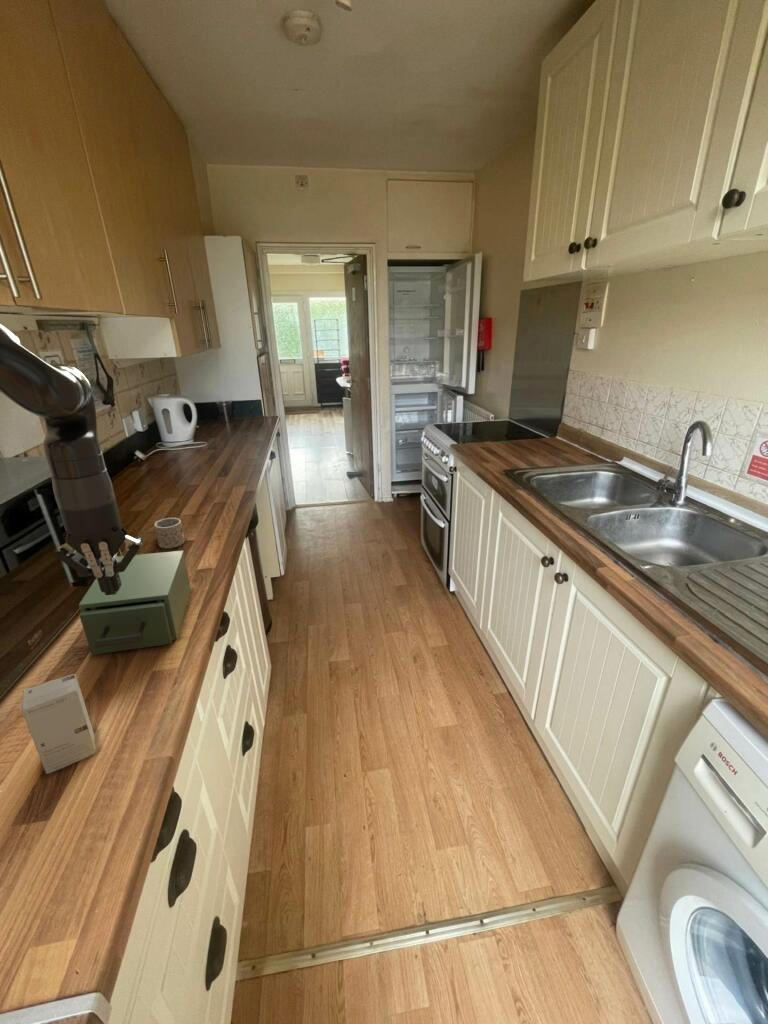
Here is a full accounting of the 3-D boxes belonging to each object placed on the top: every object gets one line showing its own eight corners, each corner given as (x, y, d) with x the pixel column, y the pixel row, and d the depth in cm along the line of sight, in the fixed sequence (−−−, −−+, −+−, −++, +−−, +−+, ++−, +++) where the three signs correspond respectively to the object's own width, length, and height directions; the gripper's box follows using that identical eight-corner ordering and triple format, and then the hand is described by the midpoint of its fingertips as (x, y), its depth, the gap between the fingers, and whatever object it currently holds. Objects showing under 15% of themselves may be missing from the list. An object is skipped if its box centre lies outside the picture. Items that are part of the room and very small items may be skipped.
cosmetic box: (46, 777, 59) (18, 713, 54) (46, 752, 62) (19, 690, 57) (98, 753, 62) (76, 691, 57) (96, 731, 65) (75, 671, 61)
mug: (189, 542, 122) (185, 521, 119) (167, 551, 117) (163, 530, 114) (169, 533, 127) (165, 513, 124) (147, 542, 122) (142, 520, 119)
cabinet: (177, 640, 85) (167, 594, 80) (93, 652, 81) (78, 605, 77) (191, 590, 100) (183, 550, 96) (121, 598, 97) (110, 557, 93)
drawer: (166, 661, 78) (156, 622, 74) (81, 674, 75) (67, 633, 71) (185, 595, 97) (178, 561, 93) (118, 603, 94) (109, 568, 90)
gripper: (139, 488, 72) (159, 576, 79) (48, 493, 68) (77, 585, 75) (127, 505, 65) (149, 599, 72) (25, 512, 62) (59, 610, 69)
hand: (112, 592), depth 74 cm, fingers closed
